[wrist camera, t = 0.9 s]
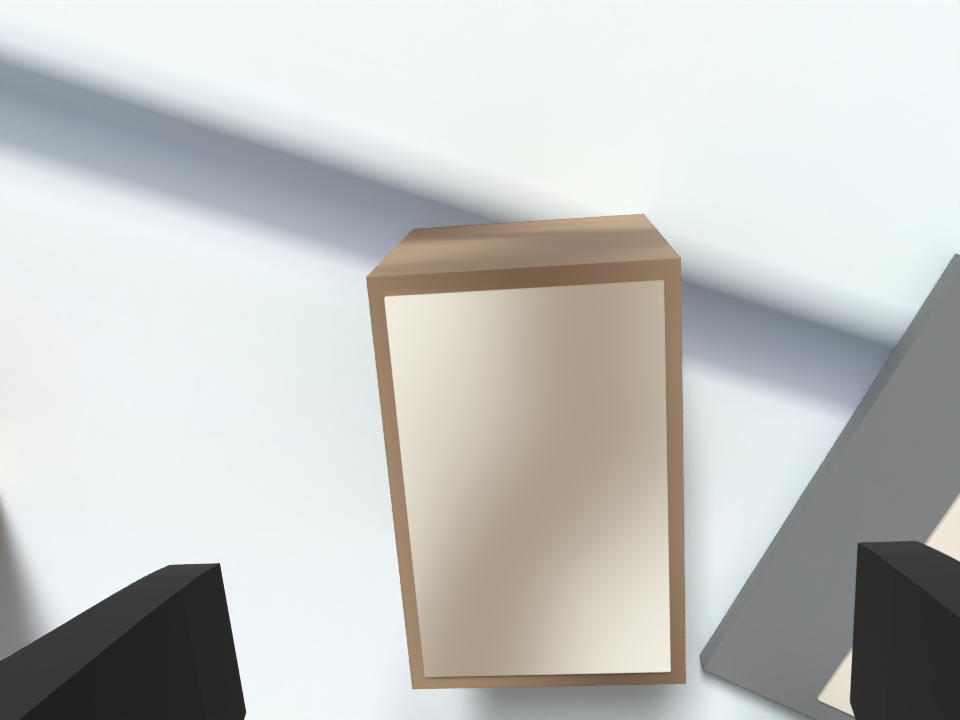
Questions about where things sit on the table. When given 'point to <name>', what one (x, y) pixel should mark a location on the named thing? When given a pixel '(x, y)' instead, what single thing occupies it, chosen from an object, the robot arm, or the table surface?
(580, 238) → the brown rectangular block
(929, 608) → the robot arm
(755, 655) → the mat
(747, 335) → the table surface
